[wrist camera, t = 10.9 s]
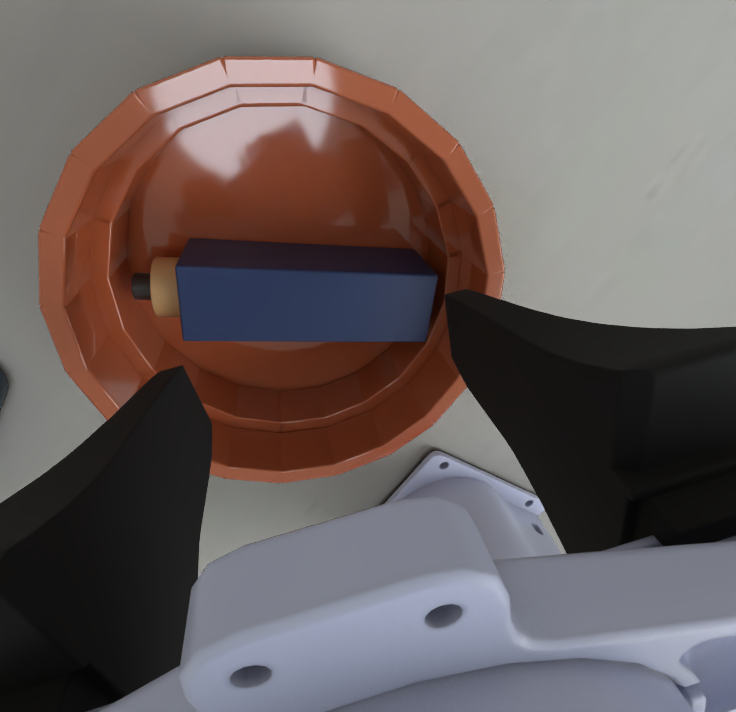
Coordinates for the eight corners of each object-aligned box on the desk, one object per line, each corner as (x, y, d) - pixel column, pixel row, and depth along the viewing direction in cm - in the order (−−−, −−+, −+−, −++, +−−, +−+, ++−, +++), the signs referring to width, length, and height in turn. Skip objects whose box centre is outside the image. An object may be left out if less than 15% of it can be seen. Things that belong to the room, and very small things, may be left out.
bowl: (512, 215, 19) (585, 252, 14) (334, 440, 23) (350, 521, 19) (204, -46, 13) (175, -109, 9) (42, 318, 17) (-31, 395, 13)
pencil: (415, 248, 18) (439, 275, 15) (405, 308, 19) (426, 342, 17) (139, 234, 16) (115, 263, 13) (149, 304, 17) (128, 342, 15)
